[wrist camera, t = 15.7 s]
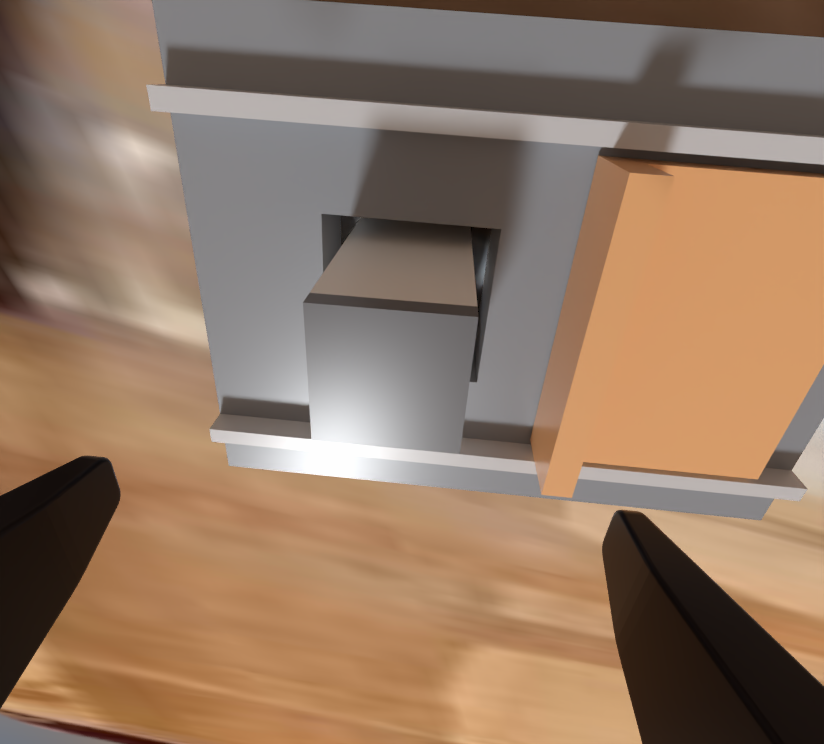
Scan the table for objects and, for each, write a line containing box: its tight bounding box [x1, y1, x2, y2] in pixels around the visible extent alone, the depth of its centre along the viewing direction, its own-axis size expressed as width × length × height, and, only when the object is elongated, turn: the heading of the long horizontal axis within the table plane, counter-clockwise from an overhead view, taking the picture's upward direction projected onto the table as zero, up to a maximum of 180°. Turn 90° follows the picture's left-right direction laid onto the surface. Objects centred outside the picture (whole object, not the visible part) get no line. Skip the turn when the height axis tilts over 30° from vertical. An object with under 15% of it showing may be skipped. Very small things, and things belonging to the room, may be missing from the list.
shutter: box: [530, 155, 824, 498], centre depth 15 cm, size 8×10×3 cm
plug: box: [303, 217, 478, 454], centre depth 16 cm, size 4×4×8 cm
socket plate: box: [146, 0, 824, 520], centre depth 17 cm, size 22×16×4 cm
